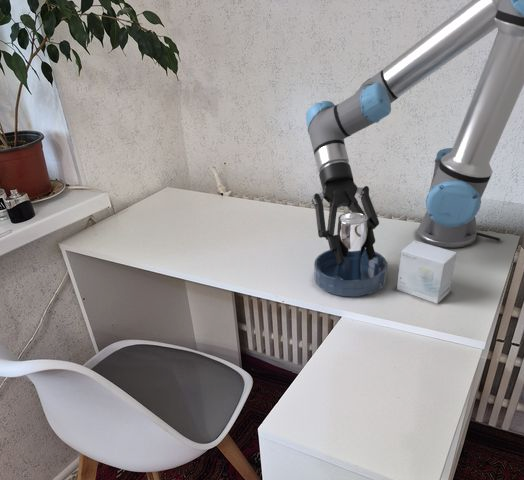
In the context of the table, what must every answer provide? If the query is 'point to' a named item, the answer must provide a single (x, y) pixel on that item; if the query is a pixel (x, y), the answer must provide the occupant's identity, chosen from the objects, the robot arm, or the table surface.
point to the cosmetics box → (426, 271)
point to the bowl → (369, 282)
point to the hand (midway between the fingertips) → (356, 260)
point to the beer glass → (352, 244)
